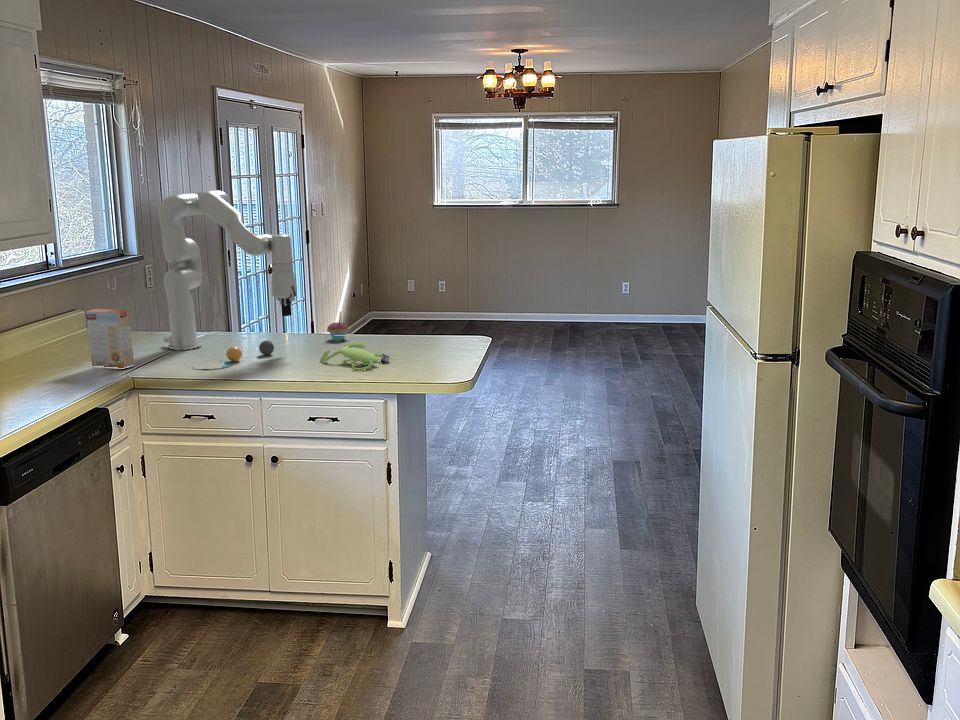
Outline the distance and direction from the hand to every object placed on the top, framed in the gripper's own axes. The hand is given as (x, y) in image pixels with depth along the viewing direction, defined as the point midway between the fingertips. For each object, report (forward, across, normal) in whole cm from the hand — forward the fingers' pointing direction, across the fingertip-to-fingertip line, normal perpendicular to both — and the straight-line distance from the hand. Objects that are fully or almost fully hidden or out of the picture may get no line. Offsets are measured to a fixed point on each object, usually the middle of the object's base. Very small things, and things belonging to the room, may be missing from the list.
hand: (286, 315), depth 337 cm
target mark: (+13, -1, -33) cm, 36 cm away
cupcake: (+14, -3, +26) cm, 29 cm away
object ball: (+11, -1, -24) cm, 26 cm away
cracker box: (+13, -26, -57) cm, 64 cm away
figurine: (+15, +35, +4) cm, 39 cm away
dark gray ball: (+11, -1, -10) cm, 15 cm away
